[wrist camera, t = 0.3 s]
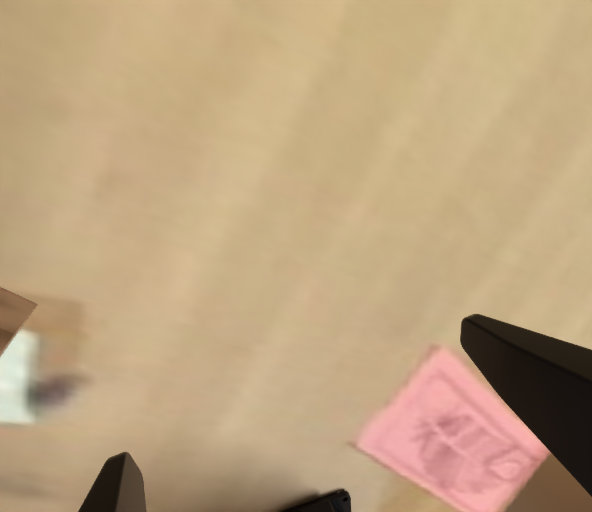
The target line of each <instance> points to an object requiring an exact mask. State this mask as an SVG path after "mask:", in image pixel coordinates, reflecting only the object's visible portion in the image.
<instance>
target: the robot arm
mask: <svg viewBox="0 0 592 512" xmlns="http://www.w3.org/2000/svg"><path fill="white" fill-rule="evenodd" d="M460 342H461V345H462V347H463V349H464V350H465V352H466V353H467V354H468V356H469V357H470V358H471V360H472V361H473V362H474V364H475V365H476V366H477V367H478V369H479V370H480V371H481V373H482V374H483V375H484V377H485V378H486V379H487V381H488V382H489V383H490V385H491V386H492V387H493V389H494V390H495V391H496V392H497V394H498V395H499V396H500V397H501V398H502V399H503V400H504V402H505V403H506V404H507V405H508V406H509V407H510V408H511V409H512V410H513V411H514V412H515V414H516V415H517V416H518V417H519V418H520V419H521V420H522V421H523V422H524V423H525V424H526V426H527V427H528V428H529V429H530V430H531V431H532V432H533V433H534V434H535V435H536V436H537V438H538V439H539V440H540V441H541V442H542V443H543V444H544V445H545V446H546V447H547V448H548V450H549V451H550V452H551V453H552V454H553V455H554V456H555V457H556V458H557V459H558V460H559V462H560V463H561V464H562V465H563V466H564V467H565V468H566V469H567V470H568V471H569V472H570V473H571V475H572V476H573V477H574V478H575V479H576V480H577V481H578V482H579V483H580V484H581V485H582V487H583V488H584V489H585V490H586V491H587V492H588V493H589V494H590V495H591V496H592V350H591V349H587V348H584V347H581V346H578V345H575V344H572V343H568V342H565V341H562V340H559V339H556V338H553V337H549V336H546V335H543V334H540V333H537V332H534V331H530V330H527V329H524V328H521V327H518V326H515V325H512V324H508V323H505V322H502V321H499V320H496V319H493V318H489V317H486V316H483V315H480V314H473V315H470V316H468V317H465V318H464V319H463V320H462V323H461V336H460ZM78 512H146V504H145V493H144V482H143V477H142V473H141V471H140V469H139V468H138V466H137V465H136V463H135V462H134V460H133V459H132V457H131V455H130V454H129V453H128V452H123V453H120V454H117V455H115V456H112V457H110V458H109V459H108V460H107V461H106V462H105V464H104V466H103V468H102V469H101V471H100V473H99V475H98V477H97V478H96V480H95V482H94V484H93V486H92V488H91V489H90V491H89V493H88V495H87V497H86V499H85V500H84V502H83V504H82V506H81V508H80V510H79V511H78ZM283 512H351V498H350V495H349V493H348V492H347V491H343V492H340V493H337V494H334V495H331V496H328V497H325V498H322V499H319V500H316V501H313V502H310V503H307V504H304V505H301V506H298V507H295V508H292V509H289V510H286V511H283Z"/></svg>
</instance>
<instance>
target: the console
mask: <svg viewBox="0 0 592 512" xmlns="http://www.w3.org/2000/svg"><path fill="white" fill-rule="evenodd" d="M36 306H37V304H35V303H33V302H31V301H28V300H26V299H24V298H22V297H20V296H18V295H15V294H13V293H11V292H9V291H7V290H5V289H2V288H0V357H1V355H2V354H3V352H4V351H5V350H6V348H7V347H8V345H9V344H10V343H11V341H12V340H13V338H14V337H15V336H16V334H17V333H18V331H19V330H20V329H21V327H22V326H23V324H24V323H25V321H26V320H27V319H28V317H29V316H30V314H31V313H32V312H33V310H34V309H35V307H36Z"/></svg>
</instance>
